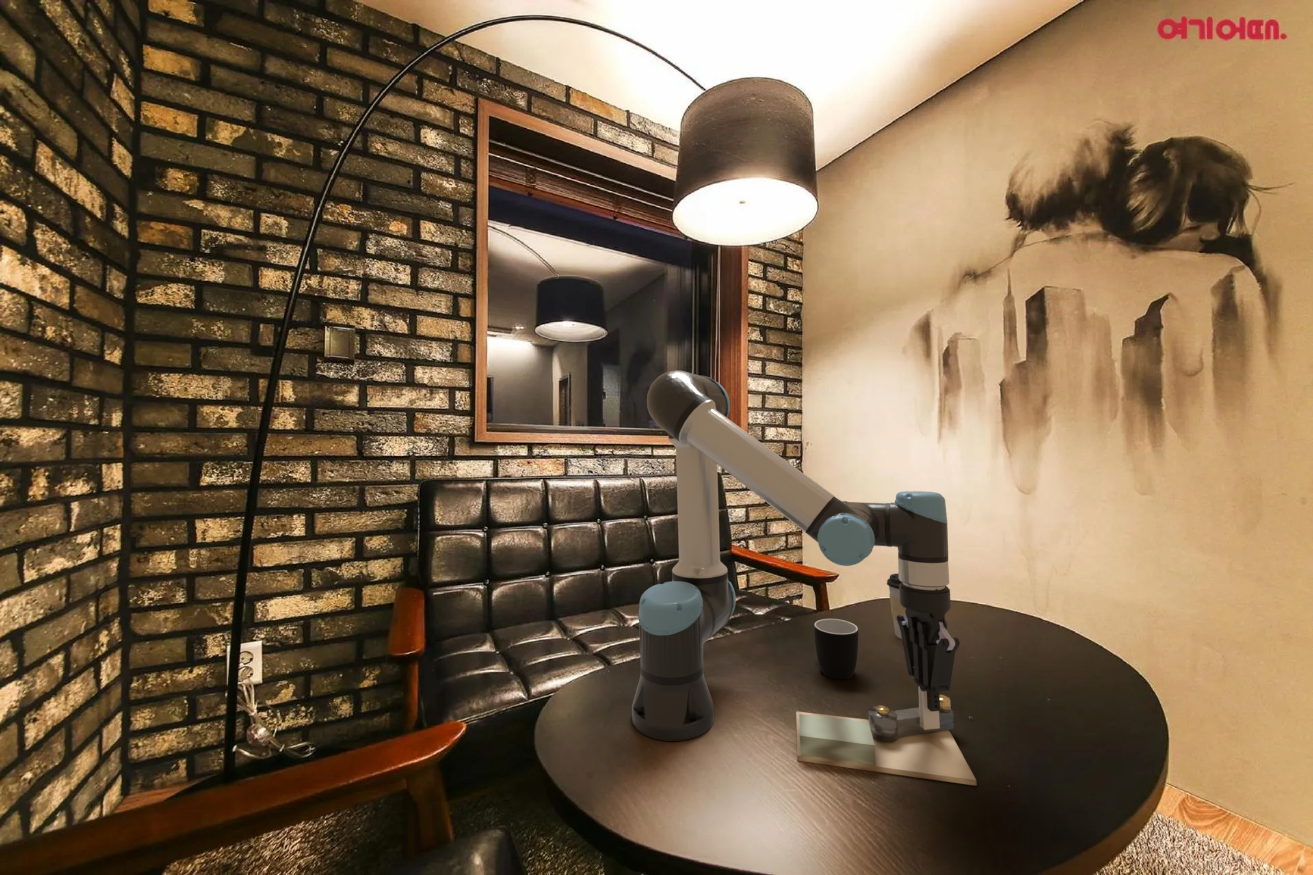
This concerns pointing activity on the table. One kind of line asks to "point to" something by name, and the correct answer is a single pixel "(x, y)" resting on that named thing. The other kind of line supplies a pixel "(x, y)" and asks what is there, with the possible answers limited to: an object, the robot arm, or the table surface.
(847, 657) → the mug
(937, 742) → the board
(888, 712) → the latch bar
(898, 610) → the coffee cup
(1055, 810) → the table surface
